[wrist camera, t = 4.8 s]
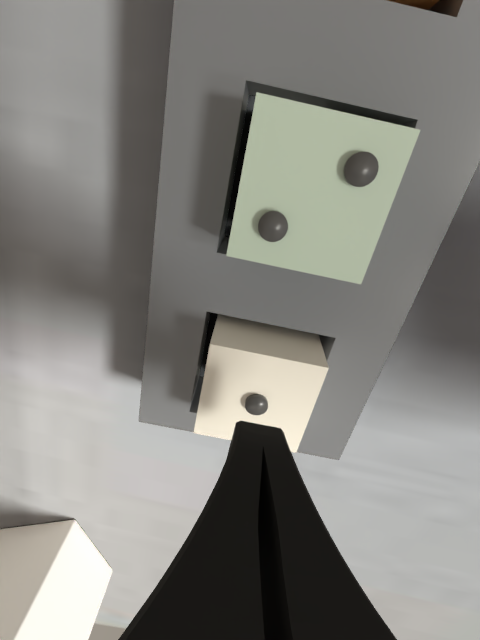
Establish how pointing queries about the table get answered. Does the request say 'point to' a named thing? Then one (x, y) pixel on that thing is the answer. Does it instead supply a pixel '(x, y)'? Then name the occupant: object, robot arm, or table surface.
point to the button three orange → (417, 3)
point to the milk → (50, 582)
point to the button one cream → (260, 378)
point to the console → (220, 166)
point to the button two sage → (316, 187)
